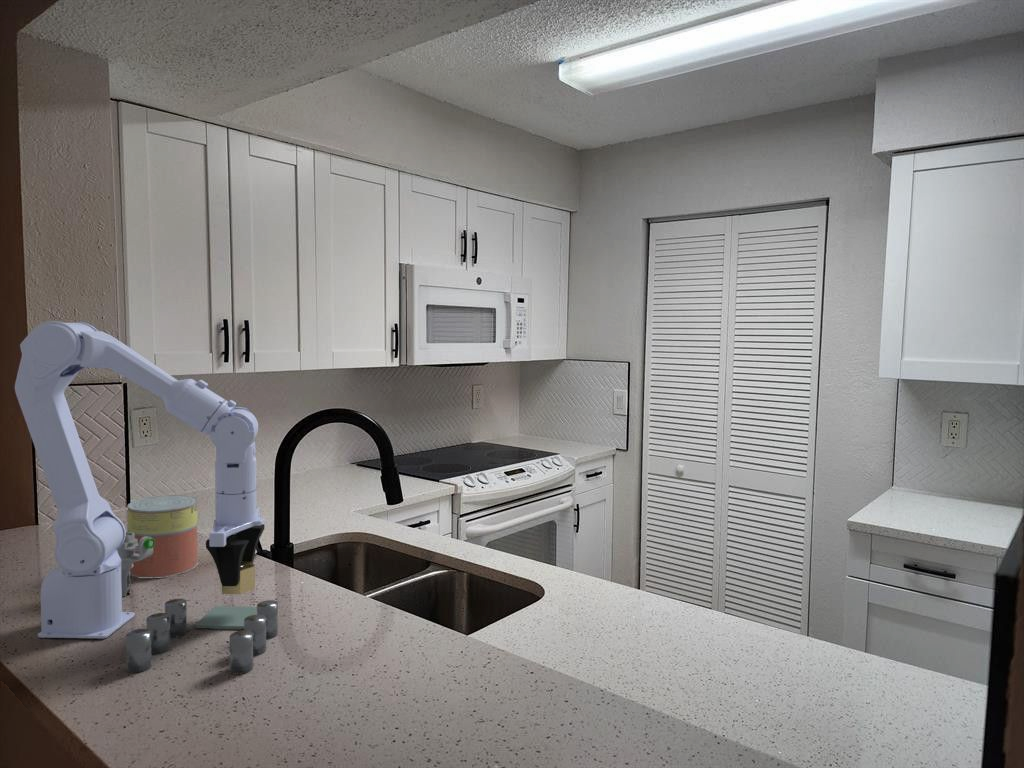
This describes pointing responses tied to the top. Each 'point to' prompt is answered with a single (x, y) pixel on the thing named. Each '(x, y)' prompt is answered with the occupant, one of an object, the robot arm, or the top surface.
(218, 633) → the top surface
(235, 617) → the green mat
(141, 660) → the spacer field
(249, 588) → the brass nut
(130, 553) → the mechanical component
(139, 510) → the canned food
